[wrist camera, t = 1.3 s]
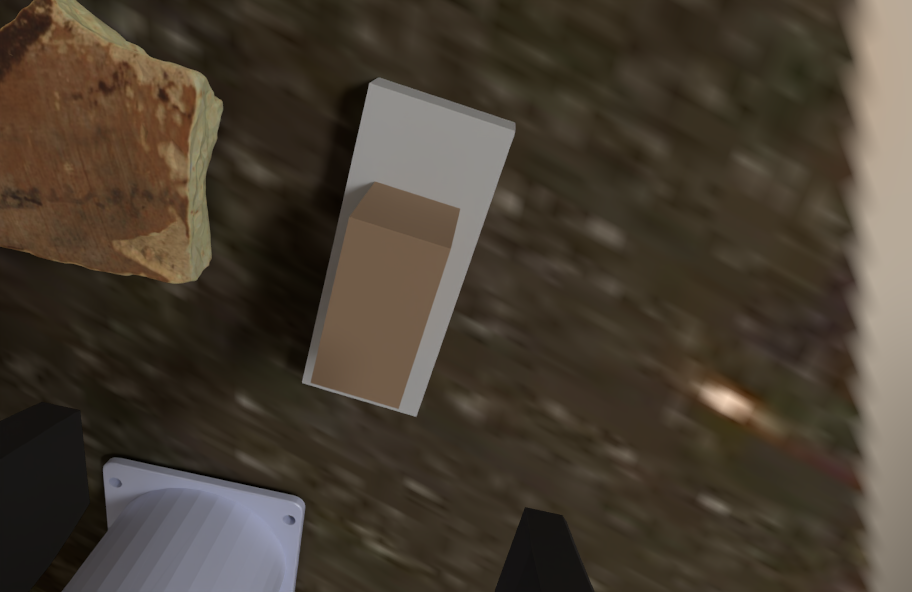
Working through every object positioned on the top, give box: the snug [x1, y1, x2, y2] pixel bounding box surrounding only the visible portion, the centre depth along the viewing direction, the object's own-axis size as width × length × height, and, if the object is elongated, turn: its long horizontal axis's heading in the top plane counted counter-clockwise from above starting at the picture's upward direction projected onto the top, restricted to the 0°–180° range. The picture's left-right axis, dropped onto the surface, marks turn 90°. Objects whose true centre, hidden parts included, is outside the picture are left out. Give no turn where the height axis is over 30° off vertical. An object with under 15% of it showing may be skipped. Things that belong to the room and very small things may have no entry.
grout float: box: [302, 77, 515, 417], centre depth 17 cm, size 10×4×4 cm, turn 163°
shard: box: [0, 0, 223, 284], centre depth 17 cm, size 11×8×2 cm
